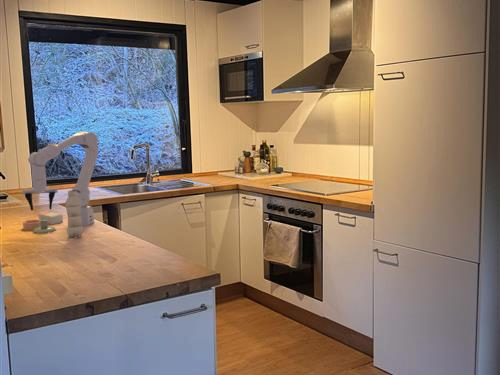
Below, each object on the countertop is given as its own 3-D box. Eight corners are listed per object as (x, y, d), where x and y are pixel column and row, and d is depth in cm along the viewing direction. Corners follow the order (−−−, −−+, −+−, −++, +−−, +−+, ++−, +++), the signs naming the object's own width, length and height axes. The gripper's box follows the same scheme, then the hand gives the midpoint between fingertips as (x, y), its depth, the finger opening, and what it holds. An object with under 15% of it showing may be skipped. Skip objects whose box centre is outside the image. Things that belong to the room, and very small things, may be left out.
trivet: (61, 229, 238) (60, 228, 238) (48, 235, 228) (48, 233, 228) (41, 229, 240) (41, 228, 240) (27, 234, 230) (27, 233, 230)
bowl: (46, 227, 244) (45, 219, 243) (35, 231, 236) (35, 223, 236) (30, 226, 245) (30, 219, 245) (20, 230, 238) (19, 223, 237)
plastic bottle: (85, 235, 227) (82, 189, 224) (80, 238, 220) (77, 191, 218) (70, 235, 227) (67, 189, 224) (65, 239, 220) (62, 192, 217)
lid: (59, 229, 238) (58, 218, 237) (48, 233, 229) (47, 222, 228) (41, 228, 239) (40, 218, 239) (29, 232, 231) (28, 222, 230)
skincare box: (49, 211, 260) (62, 214, 252) (50, 219, 261) (63, 223, 253) (38, 213, 255) (51, 216, 248) (38, 222, 256) (51, 225, 248)
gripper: (57, 177, 238) (59, 206, 240) (22, 179, 234) (25, 208, 236) (56, 179, 232) (58, 209, 234) (20, 181, 228) (23, 211, 230)
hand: (41, 209), depth 235 cm, fingers open, 7 cm apart
